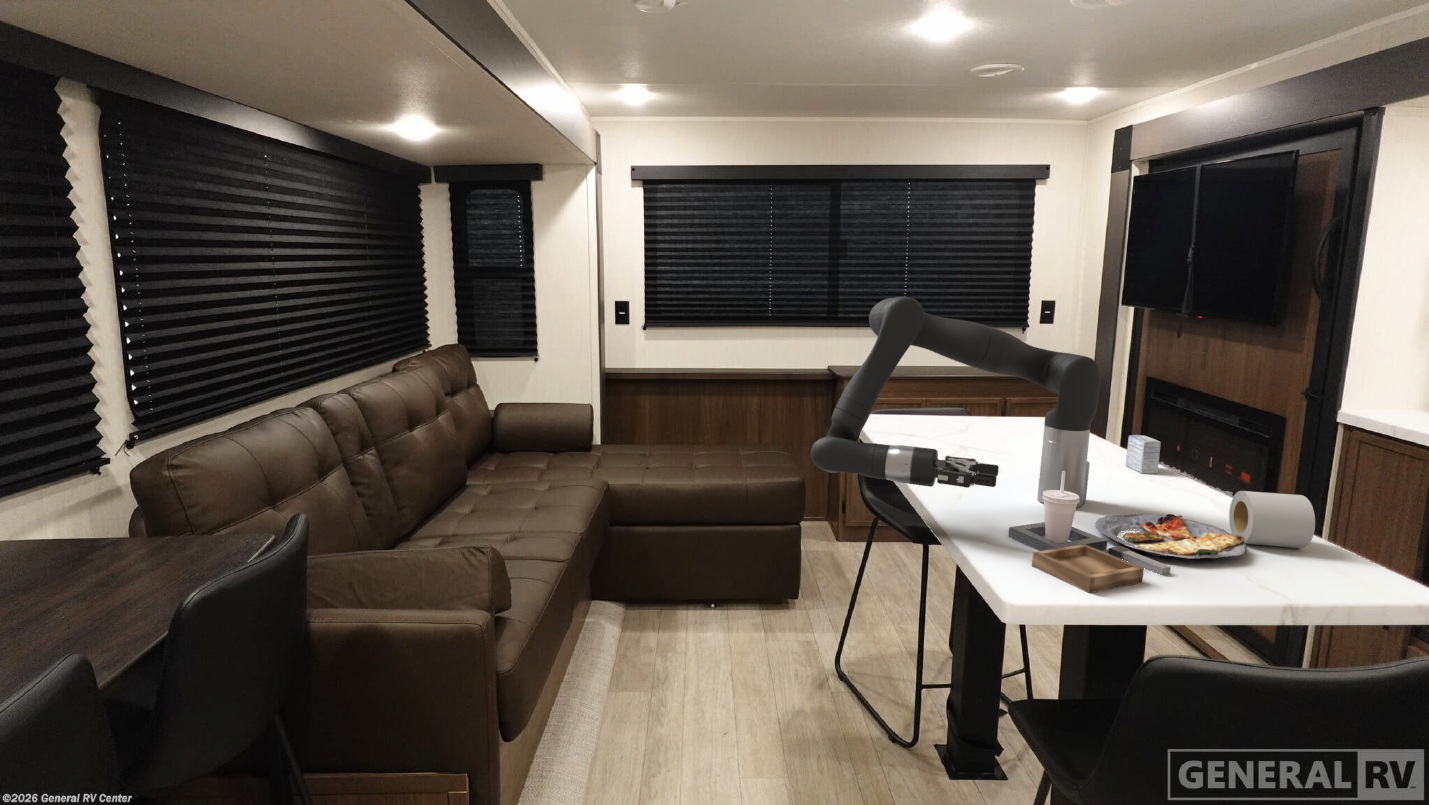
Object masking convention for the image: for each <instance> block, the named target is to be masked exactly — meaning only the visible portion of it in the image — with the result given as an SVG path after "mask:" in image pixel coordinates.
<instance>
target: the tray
mask: <svg viewBox="0 0 1429 805" xmlns="http://www.w3.org/2000/svg"><path fill="white" fill-rule="evenodd" d="M1031 566H1032V567H1033V568H1036V569H1038V570H1040V571H1042V572H1044V573H1046V574H1049V575H1050V576H1053V577H1055V578H1057V579H1058V580H1060V581H1063V582H1065V583H1067V584H1070V585H1071V586H1073V587H1075V588H1077V589H1080V590H1082V591H1084V592H1086V593H1088V594H1090V593H1091V594H1092V593H1095V592H1096V593H1097V592H1100V591H1106V590H1111V589H1116V588H1121V587H1126V586H1132V585H1136V584H1142V583H1143V578H1144V572H1145V571H1144V570H1145V569H1144V568H1142V567H1140V566H1137V565H1135V564H1132V563H1130V562H1127V561H1125V560H1122V559H1120V558H1117V557H1115V556H1112V555H1110V554H1108V553H1107V552H1106V551H1100V550H1098V549H1095V548H1093V547H1090V546H1088V545H1085V544H1082V545H1075V546H1069V547H1063V548H1057V549H1051V550H1044V551H1039V550H1037V551H1033V552H1032V560H1031Z"/></svg>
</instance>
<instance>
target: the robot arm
mask: <svg viewBox="0 0 1429 805" xmlns="http://www.w3.org/2000/svg"><path fill="white" fill-rule="evenodd" d="M868 321H869V322H868V323H869V327H870V329H871V330H872V331H873V332H872V333H874V334H875V335H876V337H877V338H876V341H875V342H874V345H873V347H872V349H871V351H870V352H869V354H868V356H867V357H866V359H865V360H864V362H863V363H862V365H861V366H860V367H859V368H858V369H857V371H855V373H854V375H853V376H852V377H851V378H850V380H849V381H848V383H847V385H846V386H845V388H844V390H843V392H842V393H841V396H840V398H839V399H838V401H837V403H836V405H835V408H834V409H833V412H832V415H831V420H830V421H831V425H830V427H829V430H828V432H827V434H826V436H825V437H821V438H819V439H817V440H816V441H815V442H814V443H813V445H812V446H811V450H810V458H811V461H812V463H813V465H815V466H816V468H817V469H819V470H822V471H825V472H826V473H829V474H830V473H831V474H836V473H847V474H849V473H850V474H858V475H861V476H864V477H867V478H872V479H881V480H888V481H892V482H896V483H900V484H901V483H902V484H906V485H907V484H909V485H917V486H924V487H930V488H933V486H934V485H935V483H937V484H939V485H949V486H955V487H962V488H966V489H968V488H970V487H973V486H983V487H988V488H989V487H991V488H994V487H996V485H997V476H998V475H999V465H998V464H991V463H985V462H979V461H978V460H977V459H975V458H967V457H958V456H950V455H946V456H944V459H939V453H938V450H937V449H935V448H929V447H919V446H912V445H904V444H897V445H896V444H895V445H892V444H891V445H890V444H884V443H876V442H875V443H874V442H861V441H859V439H860V436H861V433H862V430H863V429H864V427H865V425H866V423H867V421H868V419H869V417H870V415H871V413H872V411H873V409H874V407H875V405H876V403H877V401H878V399H879V397H880V395H881V393H882V392H883V390H884V388H885V386H886V384H887V383H888V381H889V379H890V377H891V376H892V374H893V372H894V370H895V369H896V367H897V366H898V364H899V362H900V361H901V359H902V358H903V357H904V355H905V354H906V352H907V351H908V349H909V348H910V347H911V346H913V347H916V348H921V349H925V350H928V351H930V352H933V353H935V354H937V355H940V356H942V357H944V358H947V359H950V360H953V361H955V362H958V363H960V364H963V365H966V366H969V367H971V368H976V369H978V370H981V371H984V372H988V373H993V374H996V375H997V374H998V375H1003V376H1010V377H1018V378H1020V379H1024V380H1027V381H1029V382H1032V383H1034V384H1036V385H1038V386H1041V387H1043V388H1045V389H1047V390H1048V391H1051V392H1053V393H1055V394H1058V395H1057V400H1056V406H1055V408H1054V409H1052V410H1049V411H1047V412H1046V414H1044V415H1045V416H1044V424H1043V425H1044V426H1043V437H1042V446H1041V458H1040V459H1041V460H1040V466H1039V478H1038V489H1037V498H1036V499H1037V500H1038V501H1039V502H1040V503H1042V504H1044V499H1043V498H1042V496H1043V492H1044V491H1047V490H1060V489H1061V478H1062V471H1065V481H1064V491H1068V492H1072V493H1075V494H1077V495H1078V496H1079V497H1080V498H1079V503H1078V504H1077V506H1076V508H1080V507H1082V506H1083V505H1084V504H1086V502H1087V493H1088V483H1089V473H1090V465H1091V464H1090V461H1088V452H1089V442H1090V435H1091V434H1090V433H1091V425H1092V422H1093V420H1094V418H1095V416H1096V413H1097V410H1098V403H1099V397H1100V393H1101V392H1100V391H1101V385H1102V384H1101V382H1102V375H1101V372H1102V371H1101V367H1100V366H1099V364H1098V363H1097V361H1096V360H1094V358H1092V357H1089V356H1086V355H1080V354H1075V353H1070V352H1059V351H1055V350H1049V349H1045V348H1040V347H1037V346H1032V345H1030V344H1028V343H1026V342H1024V341H1022V339H1019V338H1018V337H1016V336H1014V335H1013V334H1011V333H1009V332H1006V331H1004V330H1000V329H998V328H995V327H992V326H989V325H986V324H982V323H978V322H974V321H969V320H964V319H954V318H948V317H941V316H936V315H932V314H930V313H926V312H925V311H924V308H923V306H922V305H921V304H920V302H919V301H918V300H916V298H912V297H909V296H895V297H888V298H886V299H883V300H881V301H879V302H877V303H876V304H875V305H874V306H873V307H872V308H871V310H870V312H869V315H868ZM936 479H937V481H936Z"/></svg>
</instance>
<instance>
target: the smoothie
mask: <svg viewBox="0 0 1429 805" xmlns="http://www.w3.org/2000/svg"><path fill="white" fill-rule="evenodd" d="M1064 481H1065V471H1062V478H1061V489H1060V490H1047V491H1044V492H1043V496H1042V498H1043V499H1044V503H1043V507H1044V522H1045V536H1044V537H1045V538H1047V539H1049V540H1052V541H1054V542H1057V543H1062V542H1069V540H1068V539H1069V535H1070V531H1071V527H1073V522H1074V519H1075V516H1076V515H1075V514H1076V510H1077V507H1076V506H1077V504H1078V503H1079V498H1080V497H1079V496H1078V495H1077V494H1075V493H1072V492H1068V491H1064Z"/></svg>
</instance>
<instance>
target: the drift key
mask: <svg viewBox="0 0 1429 805" xmlns="http://www.w3.org/2000/svg"><path fill="white" fill-rule="evenodd" d="M1107 554H1110V555H1112V556H1115V557H1117V558H1120V559H1123V560H1125V561H1128V562H1130V563H1132V564H1135V565H1137V566H1140V567H1142V568H1145V569H1144V570H1147V571H1149V572H1151V571H1152V573H1153V574H1156V573H1157V574H1156V575H1159V574H1160V575H1159V576H1161V575H1163V576H1167V575H1166V574H1168V575H1170V574H1171V567H1172V566H1170V565H1167V564H1165V563H1162V562H1160V561H1158V560H1155V559H1152V558H1150V557H1148V556H1144V555H1142V554H1139V553H1137V552H1135V551H1132V549H1130V548H1126V547H1124V546H1121V545H1118V546H1117V545H1116V546H1112V547H1108V553H1107Z"/></svg>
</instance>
